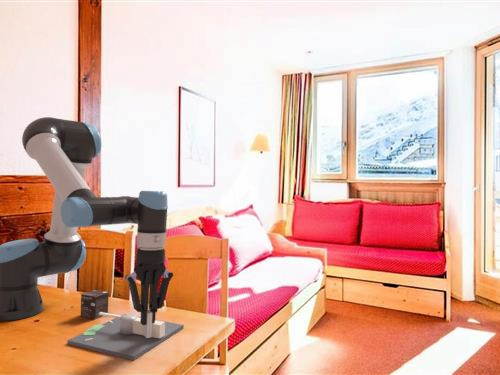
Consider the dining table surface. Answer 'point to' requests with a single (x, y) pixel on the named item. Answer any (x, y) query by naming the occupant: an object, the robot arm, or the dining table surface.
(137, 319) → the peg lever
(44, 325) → the dining table surface
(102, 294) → the box
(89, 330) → the dial board
